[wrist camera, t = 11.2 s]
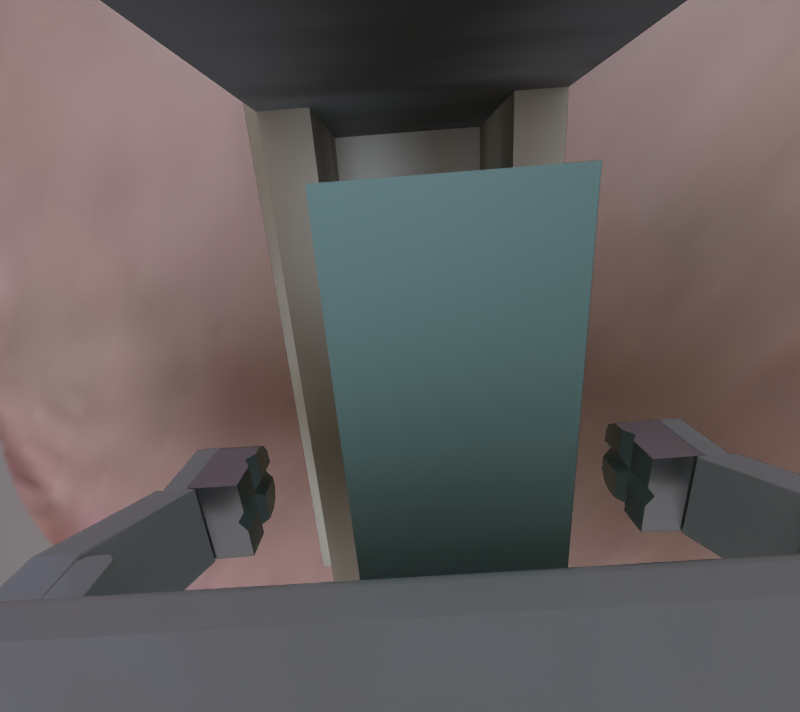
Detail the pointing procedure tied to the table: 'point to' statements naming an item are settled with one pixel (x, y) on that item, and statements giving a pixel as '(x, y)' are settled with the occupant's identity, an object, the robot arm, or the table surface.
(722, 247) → the table surface
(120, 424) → the table surface
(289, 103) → the book rack
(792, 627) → the robot arm
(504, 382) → the green book
